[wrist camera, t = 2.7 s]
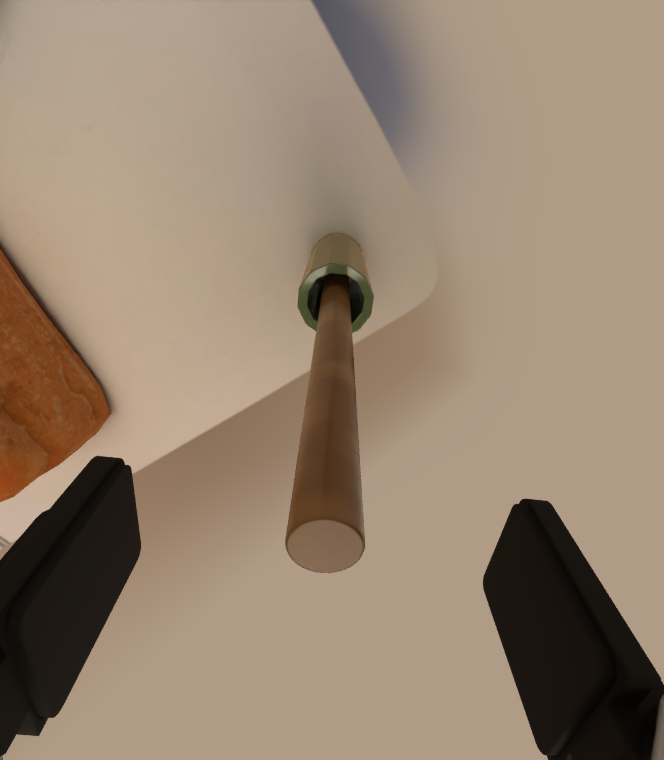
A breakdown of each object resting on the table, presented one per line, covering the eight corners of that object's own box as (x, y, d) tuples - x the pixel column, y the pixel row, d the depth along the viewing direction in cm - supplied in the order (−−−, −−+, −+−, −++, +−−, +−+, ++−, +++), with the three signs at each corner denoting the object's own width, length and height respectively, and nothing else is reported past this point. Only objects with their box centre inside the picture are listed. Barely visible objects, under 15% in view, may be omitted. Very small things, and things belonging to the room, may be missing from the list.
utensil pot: (367, 236, 35) (378, 268, 25) (359, 289, 38) (366, 340, 27) (313, 229, 35) (301, 259, 25) (308, 283, 37) (295, 332, 27)
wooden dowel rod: (352, 253, 36) (384, 523, 9) (349, 274, 36) (371, 579, 10) (324, 249, 36) (273, 512, 9) (322, 270, 36) (269, 569, 10)
